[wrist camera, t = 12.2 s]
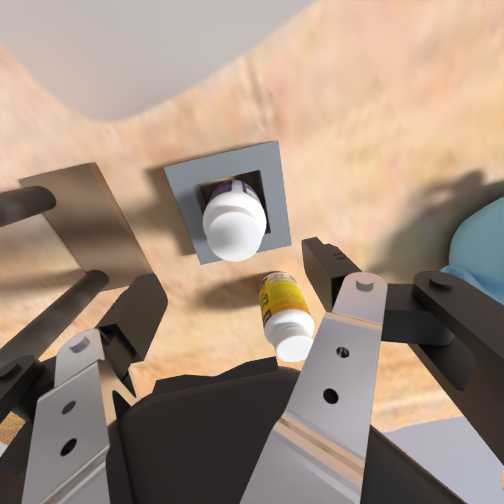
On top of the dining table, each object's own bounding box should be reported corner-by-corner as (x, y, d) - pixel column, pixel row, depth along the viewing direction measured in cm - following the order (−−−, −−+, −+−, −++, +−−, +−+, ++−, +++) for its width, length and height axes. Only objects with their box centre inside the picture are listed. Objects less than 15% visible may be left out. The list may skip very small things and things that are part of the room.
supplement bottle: (257, 271, 28) (267, 332, 19) (297, 269, 28) (327, 328, 19) (257, 302, 30) (266, 369, 21) (294, 300, 31) (319, 365, 22)
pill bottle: (211, 224, 24) (197, 268, 16) (210, 177, 22) (194, 198, 13) (256, 227, 25) (267, 271, 16) (260, 180, 22) (276, 203, 14)
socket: (285, 234, 26) (291, 245, 23) (204, 252, 26) (200, 264, 23) (272, 141, 21) (278, 140, 18) (172, 164, 21) (163, 167, 18)
